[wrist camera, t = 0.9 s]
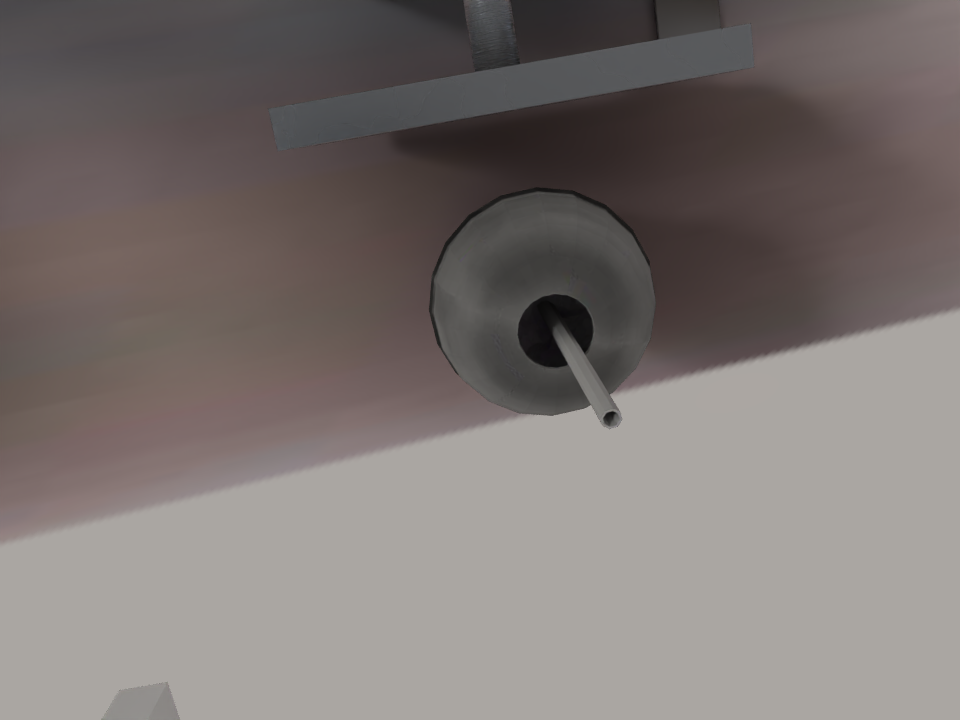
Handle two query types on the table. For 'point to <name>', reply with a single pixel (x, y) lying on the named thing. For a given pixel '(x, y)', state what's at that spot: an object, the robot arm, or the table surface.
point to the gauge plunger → (510, 81)
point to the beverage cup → (544, 303)
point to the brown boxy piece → (686, 17)
